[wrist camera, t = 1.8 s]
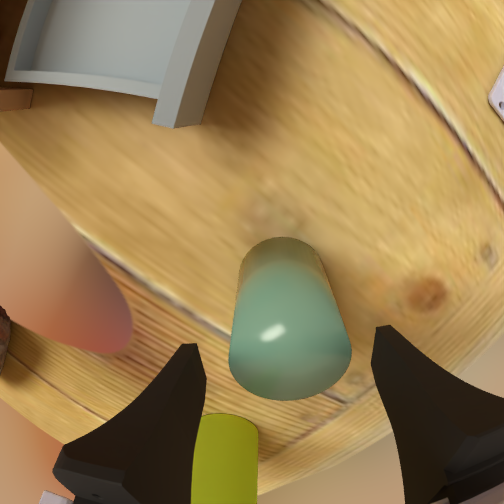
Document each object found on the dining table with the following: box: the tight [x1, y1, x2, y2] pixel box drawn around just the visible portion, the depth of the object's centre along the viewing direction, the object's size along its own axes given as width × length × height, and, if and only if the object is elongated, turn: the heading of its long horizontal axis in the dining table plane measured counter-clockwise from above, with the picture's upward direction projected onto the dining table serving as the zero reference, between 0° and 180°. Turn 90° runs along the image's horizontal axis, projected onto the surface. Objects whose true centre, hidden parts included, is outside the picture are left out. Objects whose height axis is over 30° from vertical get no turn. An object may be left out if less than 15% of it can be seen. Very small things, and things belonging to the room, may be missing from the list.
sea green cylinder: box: [228, 237, 352, 401], centre depth 15 cm, size 5×5×7 cm
